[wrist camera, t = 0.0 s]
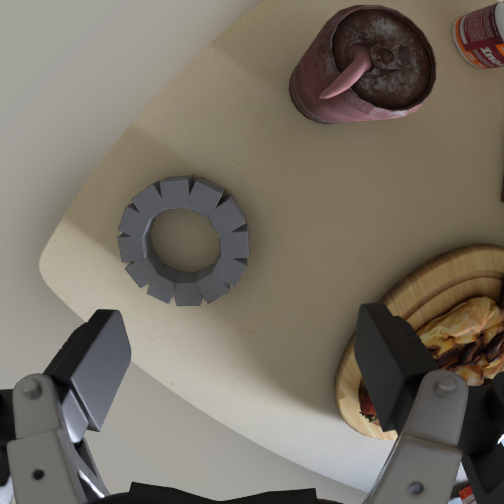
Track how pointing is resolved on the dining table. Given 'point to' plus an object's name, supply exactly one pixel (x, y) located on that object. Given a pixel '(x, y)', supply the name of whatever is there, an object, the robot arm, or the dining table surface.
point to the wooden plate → (439, 326)
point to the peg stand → (502, 192)
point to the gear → (170, 280)
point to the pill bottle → (481, 36)
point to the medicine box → (467, 495)
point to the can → (364, 68)
